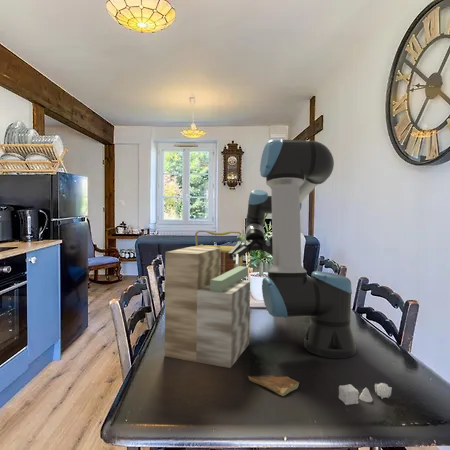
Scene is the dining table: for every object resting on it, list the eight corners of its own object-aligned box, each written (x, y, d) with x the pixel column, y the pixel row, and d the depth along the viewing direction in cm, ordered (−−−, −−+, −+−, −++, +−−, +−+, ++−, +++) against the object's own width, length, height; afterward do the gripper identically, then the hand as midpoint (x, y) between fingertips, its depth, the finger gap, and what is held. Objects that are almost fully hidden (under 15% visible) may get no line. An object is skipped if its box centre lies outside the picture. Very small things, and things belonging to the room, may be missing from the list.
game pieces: (346, 407, 75) (346, 392, 75) (338, 399, 78) (338, 385, 78) (394, 400, 78) (394, 386, 78) (384, 392, 81) (384, 379, 81)
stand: (191, 335, 116) (192, 246, 115) (249, 344, 109) (250, 249, 108) (164, 356, 99) (165, 252, 98) (230, 368, 92) (232, 256, 91)
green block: (238, 274, 119) (239, 266, 119) (247, 275, 118) (247, 266, 118) (210, 290, 94) (210, 279, 94) (221, 291, 93) (221, 280, 93)
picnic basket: (245, 278, 217) (246, 230, 215) (237, 286, 192) (238, 232, 190) (200, 275, 223) (201, 229, 222) (187, 283, 198) (188, 231, 197)
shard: (247, 381, 86) (247, 374, 86) (267, 372, 91) (267, 365, 91) (281, 399, 78) (282, 391, 78) (301, 388, 83) (301, 380, 83)
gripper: (286, 242, 141) (292, 272, 123) (225, 246, 144) (222, 276, 125) (285, 226, 138) (291, 254, 119) (223, 230, 140) (220, 259, 122)
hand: (256, 266), depth 122 cm, fingers open, 13 cm apart
